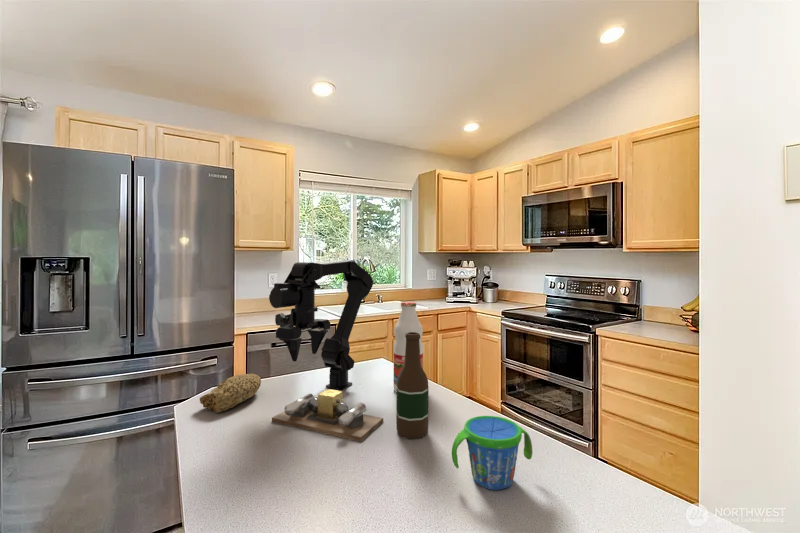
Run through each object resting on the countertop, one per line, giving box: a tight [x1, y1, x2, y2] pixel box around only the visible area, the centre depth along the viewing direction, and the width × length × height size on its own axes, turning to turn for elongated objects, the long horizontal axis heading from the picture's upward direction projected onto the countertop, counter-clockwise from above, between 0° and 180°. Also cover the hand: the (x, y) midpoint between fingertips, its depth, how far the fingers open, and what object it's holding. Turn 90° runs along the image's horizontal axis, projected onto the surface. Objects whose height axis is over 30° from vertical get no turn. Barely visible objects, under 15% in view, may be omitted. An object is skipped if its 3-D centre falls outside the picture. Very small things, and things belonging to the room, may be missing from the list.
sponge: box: [199, 372, 262, 414], centre depth 111 cm, size 13×8×20 cm
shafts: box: [283, 393, 367, 427], centre depth 95 cm, size 9×18×4 cm, turn 67°
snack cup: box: [451, 415, 533, 491], centre depth 71 cm, size 16×10×10 cm
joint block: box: [317, 388, 344, 420], centre depth 98 cm, size 5×4×6 cm
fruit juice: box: [393, 301, 424, 393], centre depth 120 cm, size 9×9×28 cm
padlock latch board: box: [271, 403, 384, 442], centre depth 96 cm, size 12×26×4 cm, turn 67°
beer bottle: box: [395, 332, 430, 440], centre depth 90 cm, size 8×8×24 cm
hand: (304, 357), depth 111 cm, fingers open, 9 cm apart
